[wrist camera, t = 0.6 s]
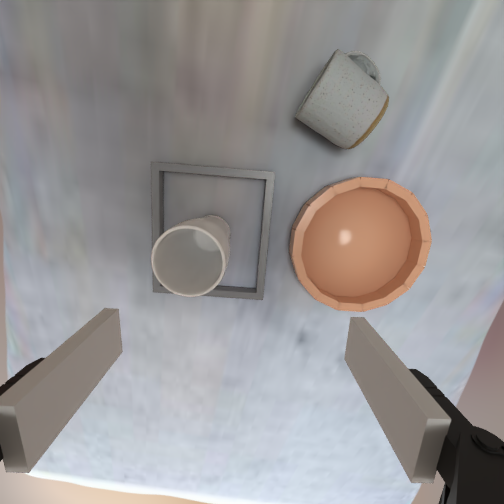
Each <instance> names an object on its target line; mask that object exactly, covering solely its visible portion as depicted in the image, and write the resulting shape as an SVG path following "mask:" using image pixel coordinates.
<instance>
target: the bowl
mask: <svg viewBox="0 0 504 504" xmlns="http://www.w3.org/2000/svg"><path fill="white" fill-rule="evenodd" d="M305 204H306V205H305ZM305 204H304V205H303V207H302V209H301V211H300V213H299V215H298V216H297V218H296V220H295V222H294V224H293V225H292V229H291V238H290V246H289V253H290V257H291V260H292V263H293V267H294V270H295V273H296V275H297V277H298V279H299V281H300V282H301V284H302V285H303V286H304V287H305V288H306V289H307V291H308V292H309V293H310V294H311V295H312V296H313V298H314V299H316V300H317V301H319V302H321V303H324V304H326V305H328V306H330V307H332V308H334V309H336V310H343V311H357V312H362V311H363V312H364V311H367V310H371V309H374V308H378V307H381V306H385V305H387V304H389V303H391V302H392V301H393V300H395V299H396V298H398V297H399V296H400V295H402V294H403V293H405V292H406V291H407V290H409V289H408V288H411V286H412V285H413V283H414V282H415V281H416V279H417V278H418V276H419V275H420V273H421V272H422V271H423V269H424V268H425V267H423V266H425V265H426V261H427V257H428V254H429V250H430V246H431V242H432V241H431V240H432V239H431V233H430V226H429V220H428V215H427V213H426V211H425V210H424V209H423V207H422V206H421V204H420V203H419V201H418V200H417V198H416V197H415V195H414V194H413V193H412V192H411V191H409V190H407V189H405V188H404V187H402V186H400V185H398V184H397V183H395V182H393V181H391V180H388V179H380V178H368V177H354V178H349V179H346V180H343V181H340V182H337V183H334V184H331V185H327V186H326V187H324V188H323V189H321V190H320V191H319V192H318V193H317V194H315V195H314V196H313V197H312V198H311V199H309V200H308V201H307V202H306V203H305Z"/></svg>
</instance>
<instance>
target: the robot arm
mask: <svg viewBox="0 0 504 504" xmlns="http://www.w3.org/2000/svg"><path fill="white" fill-rule="evenodd" d="M122 352H123V351H122V341H121V330H120V320H119V309H109V308H105V309H103V310H102V311H101V312H100V313H99V314H97V315H96V316H95V317H94V318H93V319H91V320H90V321H89V322H88V323H87V324H86V325H84V326H83V327H82V328H81V329H80V330H78V331H77V332H76V333H75V334H74V335H72V336H71V337H70V338H69V339H68V340H66V341H65V342H64V343H63V344H62V345H61V346H59V347H58V348H57V349H56V350H55V351H53V352H52V353H51V354H50V355H49V356H47V357H46V358H40V359H38V360H36V361H34V362H32V363H30V364H28V365H27V366H25V367H24V368H23V369H22V370H20V371H19V372H18V373H17V374H15V376H14V377H12V378H10V379H9V380H8V381H7V382H6V383H5V384H3V385H2V386H1V387H0V461H1V460H2V459H3V462H4V466H5V470H6V472H17V473H29V472H30V471H31V470H32V468H33V467H34V466H35V464H36V463H37V462H38V460H39V459H40V458H41V457H42V455H43V454H44V453H45V451H46V450H47V449H48V448H49V446H50V445H51V444H52V442H53V441H54V440H55V438H56V437H57V436H58V435H59V433H60V432H61V431H62V429H63V428H64V427H65V426H66V424H67V423H68V422H69V420H70V419H71V418H72V416H73V415H74V414H75V413H76V411H77V410H78V409H79V407H80V406H81V405H82V404H83V402H84V401H85V400H86V398H87V397H88V396H89V394H90V393H91V392H92V391H93V389H94V388H95V387H96V385H97V384H98V383H99V382H100V380H101V379H102V378H103V376H104V375H105V374H106V372H107V371H108V370H109V369H110V367H111V366H112V365H113V363H114V362H115V361H116V360H117V358H118V357H119V356H120V354H121V353H122ZM344 359H345V361H346V363H347V365H348V367H349V368H350V370H351V372H352V374H353V376H354V378H355V379H356V381H357V383H358V385H359V387H360V389H361V391H362V392H363V394H364V396H365V398H366V400H367V402H368V404H369V405H370V407H371V409H372V411H373V413H374V415H375V417H376V418H377V420H378V422H379V424H380V426H381V428H382V430H383V431H384V433H385V435H386V437H387V439H388V441H389V443H390V444H391V446H392V448H393V450H394V452H395V454H396V455H397V457H398V459H399V461H400V463H401V465H402V467H403V468H404V470H405V472H406V474H407V476H408V478H409V480H410V481H411V483H433V482H434V478H435V474H436V471H437V470H438V472H439V474H440V475H441V477H442V478H443V480H444V481H445V485H444V488H443V491H442V495H441V498H440V501H439V504H504V442H503V441H502V440H501V439H499V438H498V437H497V436H495V435H494V434H492V433H490V432H488V431H486V430H484V429H481V428H479V427H476V426H473V425H472V424H471V423H470V422H469V421H468V420H467V419H466V418H465V417H464V416H463V415H462V414H461V412H460V411H459V410H458V409H457V408H456V407H455V406H454V405H453V404H452V403H451V402H450V401H449V399H448V398H447V397H445V396H444V394H443V393H442V392H441V391H440V390H439V389H437V386H436V385H435V384H434V383H433V382H432V381H431V380H430V379H429V378H428V377H427V376H425V375H424V374H422V373H421V372H420V371H418V370H417V369H408V368H407V367H406V366H405V365H404V363H403V362H402V361H401V360H400V359H399V358H398V356H397V355H396V354H395V353H394V352H393V351H392V349H391V348H390V347H389V346H388V345H387V344H386V342H385V341H384V340H383V339H382V338H381V337H380V335H379V334H378V333H377V332H376V331H375V330H374V328H373V327H372V326H371V325H370V324H369V323H368V321H367V320H366V319H365V318H364V317H351V318H350V325H349V331H348V338H347V345H346V352H345V358H344Z"/></svg>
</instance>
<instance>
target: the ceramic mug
mask: <svg viewBox="0 0 504 504" xmlns="http://www.w3.org/2000/svg"><path fill="white" fill-rule="evenodd" d="M380 80H381V77H380V73H379V70H378V68H377V66H376V65H375V63H374V62H373V61H372V60H371V59H370V58H369V57H368V56H367V55H366V54H364V53H362V52H359V51H351V52H348V53H346V54H344V53H343V52H342V51H341V50H339V49H337V50H336V51H335V52H334V53H333V55H332V56H331V58H330V59H329V61H328V62H327V64H326V65H325V67H324V68H323V70H322V71H321V73H320V75H319V76H318V78H317V79H316V81H315V82H314V84H313V86H312V87H311V89H310V90H309V92H308V94H307V95H306V97H305V99H304V100H303V102H302V104H301V106H300V107H299V109H298V111H297V113H296V118H297V119H298V120H300V121H301V122H303V123H304V124H306V125H307V126H309V127H310V128H312V129H313V130H315V131H316V132H318V133H319V134H321V135H322V136H324V137H325V138H327V139H328V140H329V141H331V142H332V143H334V144H335V145H337V146H339V147H342V148H344V149H351V148H354V147H356V146H357V145H359V144H360V143H361V142H362V141H363V140H364V139H365V138H366V137H367V136H368V135H369V134H370V133H371V132H372V131H373V130H374V128H375V127H376V126H377V124H378V123H379V121H380V120H381V118H382V117H383V115H384V113H385V111H386V109H387V107H388V102H389V96H388V95H387V93H386V91H385V90H384V89H383V88H382V87H381V86H380Z"/></svg>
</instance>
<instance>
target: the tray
mask: <svg viewBox="0 0 504 504" xmlns="http://www.w3.org/2000/svg"><path fill="white" fill-rule="evenodd" d="M163 171H166V172H178V173H191V174H203V175H215V176H227V177H239V178H251V179H263V180H266V184H265V196H264V207H263V218H262V229H261V241H260V252H259V263H258V274H257V286H256V288H243V287H229V286H216V287H215V288H214V289H213V290H211V291H210V292H208V293H206V294H204V295H200V296H213V297H227V298H242V299H256V300H263V292H264V282H265V271H266V261H267V251H268V240H269V230H270V220H271V209H272V199H273V189H274V178H275V172H269V171H257V170H245V169H233V168H221V167H209V166H197V165H185V164H173V163H161V162H151V203H152V249H153V247H154V244H155V243H156V241H157V239H158V238H159V237H160V236H161V235H162V234H163V233H164V210H163ZM153 292H157V293H171V294H175V293H172V292H171V291H169V290H167V289H166V288H165V287H164V286H163V285H162V284H161V283H160V282H159V281H158V279H157V278H156V276H155V274H154V272H153Z"/></svg>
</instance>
